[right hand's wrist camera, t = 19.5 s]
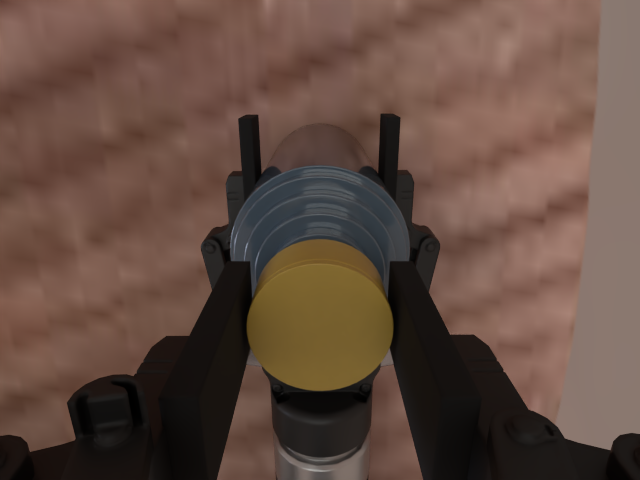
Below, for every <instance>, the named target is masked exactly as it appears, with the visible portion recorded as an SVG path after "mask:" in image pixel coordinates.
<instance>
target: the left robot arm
mask: <svg viewBox="0 0 640 480" xmlns="http://www.w3.org/2000/svg"><path fill="white" fill-rule="evenodd" d="M238 121H239V135H240V149H241V163H242V171H233V172H232V173H231V174H230V175H229V176H228V179H227V182H226V192H227V204H228V215H229V224H227V225H225V226H222V227H215V228H213V229H212V230H211V231H210V233H209V234H208V236H207V237H206V238H205V240H204V241H203V243H202V245H201V251H202V255H203V258H204V262H205V266H206V269H207V273H208V276H209V280H210V284H211V287H212V290H213V288H214V286H215V284H216V282H217V280H218V278H219V276H220V274H221V272H222V270H223V268H224V267H225V265H226V263H227V261H231V256H230V241H231V234H232V230H233V226H234V223H235V220H236V218H237V216H238V213H239V211H240V210H241V208H242V206H243V205H244V203H245V201H246V200H247V198H248V196H249V195H250V193H251V191H252V190H253V188H254V186H255V185H256V183H257V181H258V180H259V178H260V176H261V157H260V139H259V121H258V115H245V116H243V117H241V118H239V119H238ZM399 134H400V117H399V116H397V115H395V114H381V118H380V143H379V168H378V175H379V176H380V178H381V180H382V181H383V183H384V185H385V186H386V188H387V190H388V191H389V193H390V195H391V196H392V198H393V200H394V201H395V203H396V204H397V206H398V208H399V209H400V211H401V213H402V215H403V218H404V220H405V223H406V226H407V230H408V234H409V241H410V256H409V261H413V263H414V265H415V267H416V269H417V270H418V272H419V274H420V276H421V278H422V280H423V282H424V284H425V286H426V288H427V290H428V292H429V289H430V285H431V281H432V277H433V273H434V269H435V265H436V261H437V258H438V254H439V250H440V243H439V241H438V240H437V238H436V237H435V236H434V234H433V233H432V231H431V230H430V229H429V228H428V227H427V226H419V225H416V224H414V223H412V206H413V192H414V181H413V178H412V175H411V174H410V173H409V172H408V171H407V170H398V152H399ZM393 364H394V363H393V360H392V356H391V352H390V348H389V350H388V352H387V354H386V356H385V358H384V359H383V361H382V362H381V363H380V364H379V366H378V367H377V368H376V369H375V370H374V371H373V372H372V373H370V374H369V375H368V376H366V377H365V378H364V379H362V380H360V381H358V382H357V383H354V384H352V385H350V386H347V387H343V388H340V389H335V390H327V391H312V390H305V389H301V388H297V387H293V386H291V385H288V384H286V383H284V382H282V381H280V380H278V379H277V378H275V377H274V376H272V375H271V374H270V373H269V372H267V371H266V370H265V369H264V368H263V367H262V365H261V364H260V363H259V362H258V360H257V359H256V357H255V356H254V354H253V352H252V350H251V348H250V352H249V356H248V360H247V363H246V365H253V366H259V367H262V369H263V371H264V373H265V374H266V376H267V377H268V379H269V381H270V387H271V404H272V421H273V428H274V432H273V440H274V453H275V467H276V480H368V473H369V461H370V426H371V410H372V386H373V380H374V378H375V376H376V375H377V373H378V372H379V370H380V367H381V366H387V365H393Z"/></svg>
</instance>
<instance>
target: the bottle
mask: <svg viewBox="0 0 640 480" xmlns="http://www.w3.org/2000/svg"><path fill="white" fill-rule="evenodd" d="M314 239H327V240H334V241H338V242H341V243H345V244H347V245H349V246H352V247H353V248H355V249H357V250H359V251H360V252H361V253H363V254H364V255H365V256H366V257H367V258H368V259H369V260H370V261H371V262H372V263H373V265H374V266H375V267H376V269H377V271H378V272H379V274H380V277H381V279H382V282H383V285H384V289H385V292H386V295H387V298H388V283H389V267H390V261H409V256H410V241H409V234H408V230H407V226H406V223H405V220H404V218H403V215H402V213H401V211H400V209H399V208H398V206H397V204H396V203H395V201H394V200H393V198H392V196H391V195H390V193H389V191H388V190H387V188H386V186H385V185H384V183H383V181H382V180H381V178H380V176H379V175H378V173H377V171H376V170H375V168H374V166H373V165H372V163H371V161H370V160H369V158H368V157H367V155H366V153H365V152H364V150H363V148H362V147H361V145H360V144H359V142H358V141H357V140H356V139H355V138H354V137H353V136H352V135H351V134H349V133H348V132H346V131H345V130H343V129H341V128H339V127H336V126H333V125H328V124H312V125H307V126H304V127H301V128H299V129H297V130H295V131H294V132H292V133H291V134H289V135H288V136H287V137H286V138H285V139H284V140H283V141H282V142H281V144H280V145H279V147H278V148H277V150H276V152H275V153H274V155H273V157H272V158H271V160H270V161H269V163H268V165H267V166H266V168H265V170H264V171H263V173H262V175H261V176H260V178H259V180H258V181H257V183H256V185H255V186H254V188H253V190H252V191H251V193H250V195H249V196H248V198H247V200H246V201H245V203H244V205H243V206H242V208H241V210H240V211H239V213H238V216H237V218H236V220H235V223H234V226H233V230H232V234H231V241H230V256H231V261H250V267H251V283H252V299H253V296H254V292H255V289H256V286H257V283H258V279H259V277H260V275H261V272H262V271H263V269H264V268H265V266H266V265H267V263H268V262H269V261H270V260H271V259H272V258H273V257H274V256H275V255H276V254H277V253H279V252H280V251H282V250H283V249H285V248H287V247H289V246H291V245H293V244H296V243H299V242H302V241H307V240H314Z"/></svg>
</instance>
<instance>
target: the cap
mask: <svg viewBox="0 0 640 480" xmlns="http://www.w3.org/2000/svg"><path fill="white" fill-rule="evenodd" d="M246 325H247V337H248V342H249V345H250V348H251V350H252V352H253V354H254V356H255V357H256V359H257V360H258V362H259V363H260V364H261V365H262V367H263V368H264V369H265V370H266V371H267V372H269V373H270V374H271V375H272V376H274V377H275V378H277V379H278V380H280V381H282V382H284V383H286V384H288V385H291V386H293V387H297V388H301V389H305V390H312V391H327V390H335V389H340V388H343V387H347V386H350V385H352V384H354V383H357V382H358V381H360V380H362V379H364V378H365V377H366V376H368V375H369V374H370V373H372V372H373V371H374V370H375V369H376V368H377V367H378V366H379V364H380V363H381V362H382V361H383V359H384V358H385V356H386V354H387V352H388V350H389V348H390V345H391V342H392V338H393V330H394V324H393V316H392V311H391V308H390V305H389V302H388V298H387V295H386V292H385V289H384V285H383V282H382V279H381V277H380V274H379V272H378V271H377V269H376V267H375V266H374V265H373V263H372V262H371V261H370V260H369V259H368V258H367V257H366V256H365V255H364V254H363V253H361V252H360V251H359V250H357V249H355V248H353V247H352V246H349V245H347V244H345V243H341V242H338V241H334V240H327V239H314V240H307V241H302V242H299V243H296V244H293V245H291V246H289V247H287V248H285V249H283V250H282V251H280V252H279V253H277V254H276V255H275V256H274V257H273V258H272V259H271V260H270V261H269V262H268V263H267V265H266V266H265V268H264V269H263V271H262V272H261V275H260V277H259V279H258V283H257V286H256V289H255V292H254V296H253V299H252V302H251V305H250V309H249V312H248V316H247V324H246Z"/></svg>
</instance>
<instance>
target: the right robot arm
mask: <svg viewBox="0 0 640 480" xmlns="http://www.w3.org/2000/svg"><path fill="white" fill-rule="evenodd" d="M251 302H252V283H251V267H250V261H227V263H226V265H225V267H224V268H223V270H222V272H221V274H220V276H219V278H218V280H217V282H216V284H215V286H214V288H213V290H212V292H211V294H210V296H209V298H208V300H207V302H206V304H205V306H204V308H203V310H202V312H201V314H200V316H199V318H198V320H197V322H196V324H195V326H194V328H193V330H192V332H191V334H190V336H166V337H165V338H163V339H162V340H161V341H159V342H158V343H157V344H155V345H154V346H153V347H152V348H151V349H150V351H149V352H148V354H147V356H146V357H145V359H144V362H143V363H142V364H141V365H140V367H139V368H138V370H137V374H135V375H134V376H130V375H127V374H125V375H110V376H106V377H102V378H99V379H96V380H94V381H92V382H90V383H88V384H86V385H84V386H83V387H81V388H80V389H79V390H77V391H76V392H75V393H74V394H73V395H72V396H71V398H70V399H69V401H68V402H67V405H68V409H69V413H70V417H71V421H72V425H73V429H74V433H75V437H76V439H75V441H72V442H69V443H65V444H62V445H58V446H54V447H50V448H45V449H41V450H37V451H33V452H30V451H29V448H28V444H27V442H25V441H24V440H23V439H22V438H21V437H18V436H12V435H5V436H0V480H217V476H218V472H219V468H220V464H221V461H222V457H223V453H224V449H225V445H226V441H227V437H228V433H229V430H230V426H231V422H232V418H233V414H234V410H235V406H236V402H237V398H238V395H239V391H240V387H241V383H242V379H243V375H244V371H245V367H246V363H247V360H248V356H249V352H250V345H249V342H248V337H247V325H246V324H247V316H248V312H249V309H250V305H251ZM388 302H389V305H390V308H391V311H392V316H393V324H394V330H393V338H392V342H391V345H390V352H391V356H392V360H393V363H394V367H395V371H396V375H397V379H398V383H399V387H400V391H401V395H402V398H403V402H404V406H405V410H406V414H407V418H408V422H409V426H410V430H411V433H412V437H413V441H414V445H415V449H416V453H417V457H418V461H419V464H420V468H421V472H422V476H423V480H640V434H635V433H629V434H624V435H620V436H618V437H617V438H616V439H615V440H614V441H613V444H612V448H611V450H606V449H602V448H598V447H594V446H590V445H585V444H581V443H577V442H574V441H571V440H568V439H565V438H564V436H563V435H562V433H561V432H560V430H559V429H558V427H557V426H556V425H554V424H553V423H552V422H551V421H550V420H549V419H547V418H546V417H544V416H542V415H540V414H538V413H536V412H534V411H530V410H528V408H527V406H526V405H525V403H524V402H523V400H522V398H521V397H520V395H519V394H518V392H517V390H516V389H515V387H514V386H513V384H512V383H511V381H510V379H509V378H508V376H507V375H506V373H505V372H503V368H502V367H501V365H500V363H499V362H498V361H497V359H496V357H495V355H494V354H493V352H492V351H491V349H490V347H489V346H488V345H487V344H485V343H484V342H483V341H481V340H480V339H479V338H477V337H476V336H475V335H450V334H449V332H448V330H447V328H446V326H445V324H444V322H443V320H442V318H441V316H440V314H439V312H438V310H437V308H436V306H435V304H434V302H433V300H432V298H431V296H430V294H429V292H428V290H427V288H426V286H425V284H424V282H423V280H422V278H421V276H420V274H419V272H418V270H417V269H416V267H415V265H414V263H413V261H390V267H389V283H388Z"/></svg>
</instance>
